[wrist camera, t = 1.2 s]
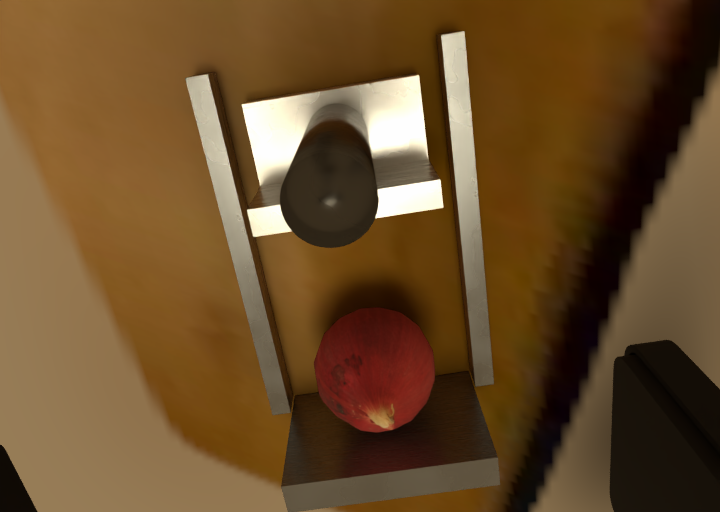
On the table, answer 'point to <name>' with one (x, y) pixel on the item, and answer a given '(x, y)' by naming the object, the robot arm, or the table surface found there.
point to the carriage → (340, 159)
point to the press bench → (310, 414)
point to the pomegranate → (375, 369)
